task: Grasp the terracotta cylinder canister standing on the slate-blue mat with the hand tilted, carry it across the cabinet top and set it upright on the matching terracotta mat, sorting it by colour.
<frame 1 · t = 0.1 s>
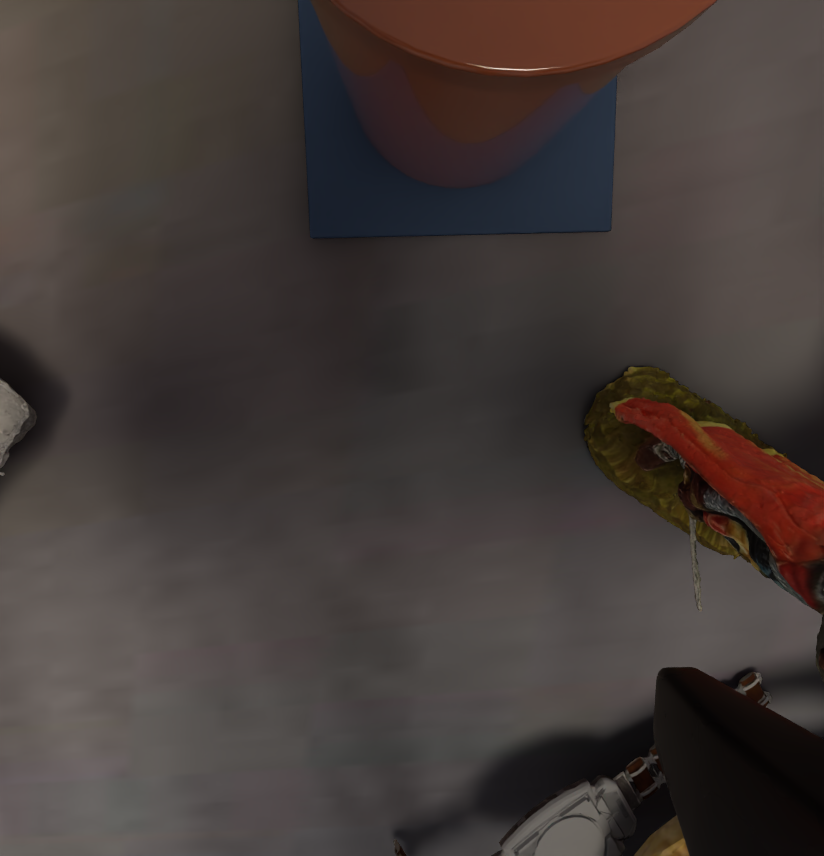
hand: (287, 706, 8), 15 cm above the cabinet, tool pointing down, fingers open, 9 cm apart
blue mat: (458, 74, 20), on the cabinet
figurine: (677, 468, 23), on the cabinet, touching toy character
wristwatch: (577, 768, 25), on the cabinet
terracotta cylinder canister: (459, 70, 20), resting on blue mat
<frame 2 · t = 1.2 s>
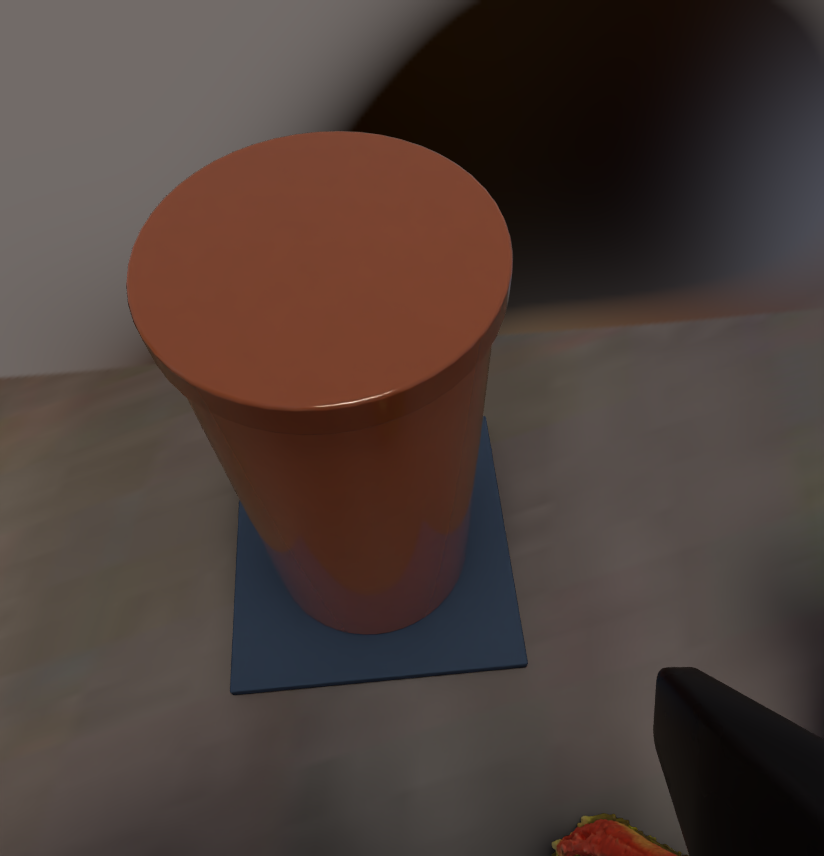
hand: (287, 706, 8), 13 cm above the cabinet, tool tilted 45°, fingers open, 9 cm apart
blue mat: (372, 543, 24), on the cabinet
terracotta cylinder canister: (371, 539, 23), resting on blue mat
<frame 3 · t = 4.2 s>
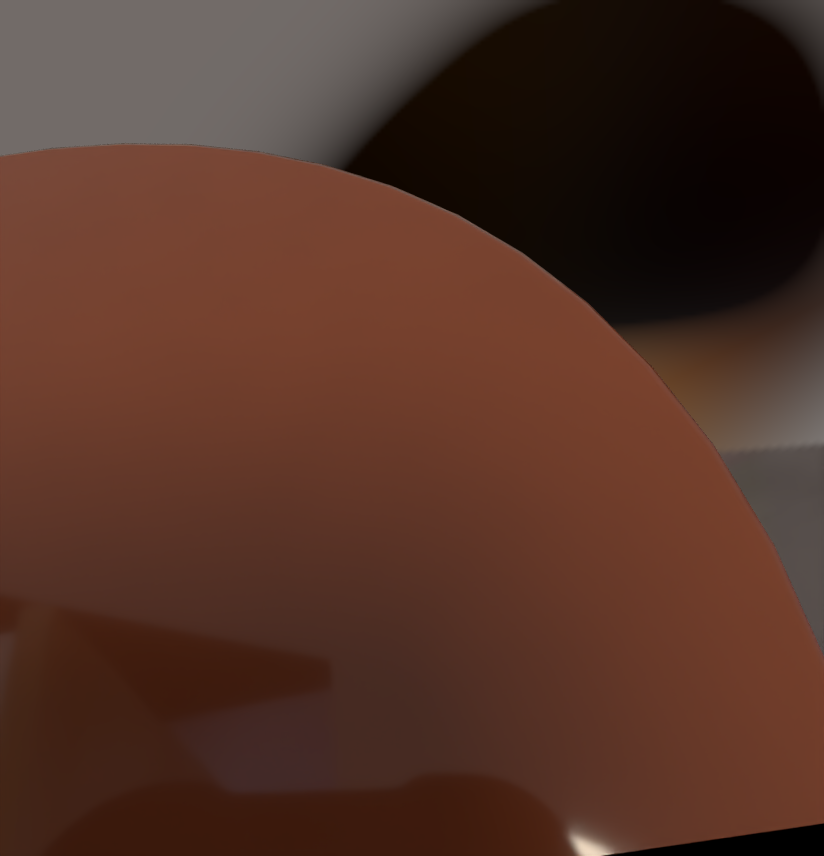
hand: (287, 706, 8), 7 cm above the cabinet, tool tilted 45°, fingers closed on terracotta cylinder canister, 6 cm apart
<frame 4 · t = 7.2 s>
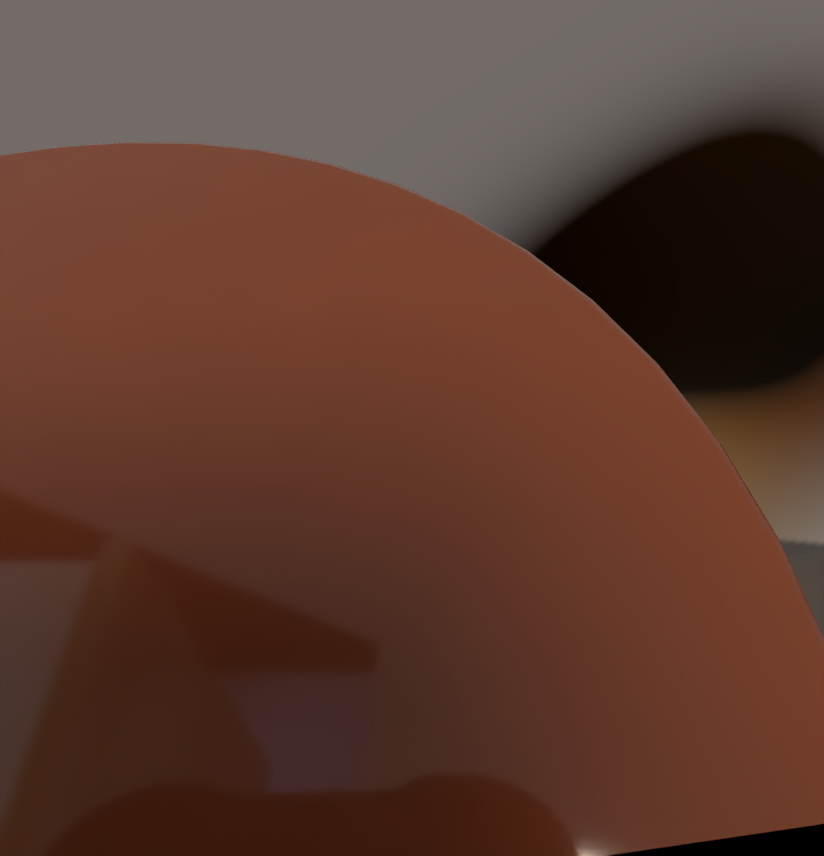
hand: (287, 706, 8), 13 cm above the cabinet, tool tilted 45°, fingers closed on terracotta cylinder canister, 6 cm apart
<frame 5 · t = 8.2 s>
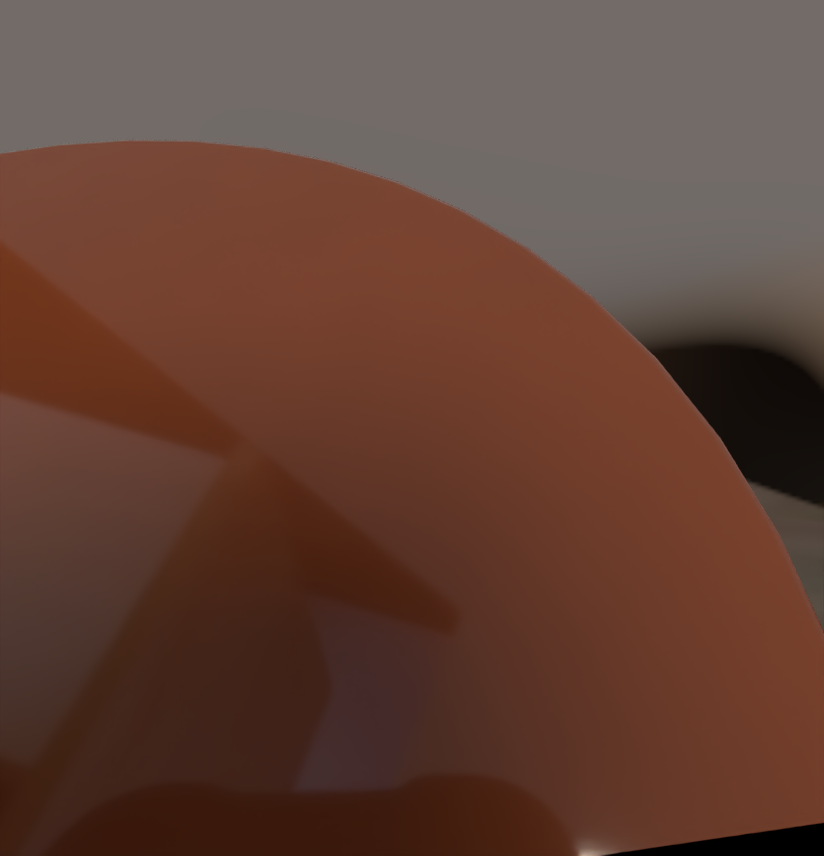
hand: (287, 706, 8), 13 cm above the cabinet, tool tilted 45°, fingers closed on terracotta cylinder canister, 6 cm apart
when the fingers open (7 cm above the cabinet, at t = 12.3 s): terracotta cylinder canister stays where it is, resting on terracotta mat.
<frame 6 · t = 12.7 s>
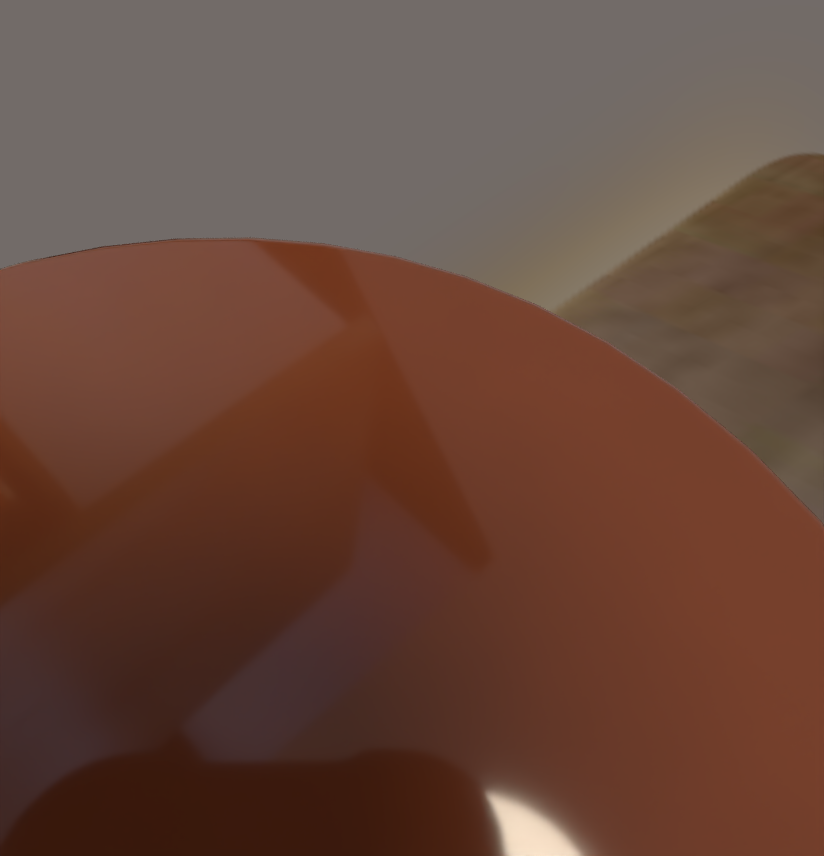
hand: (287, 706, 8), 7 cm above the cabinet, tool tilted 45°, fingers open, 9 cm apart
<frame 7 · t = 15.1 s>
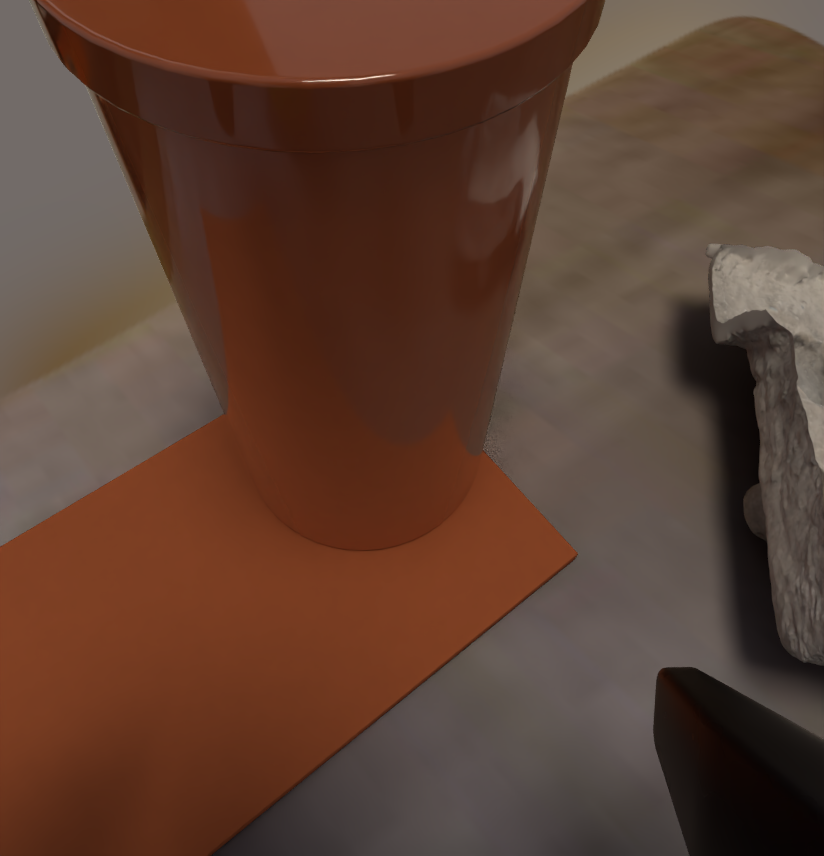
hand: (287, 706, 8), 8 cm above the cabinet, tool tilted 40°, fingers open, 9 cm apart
terracotta mat: (197, 620, 17), on the cabinet
terracotta cylinder canister: (365, 440, 19), resting on terracotta mat
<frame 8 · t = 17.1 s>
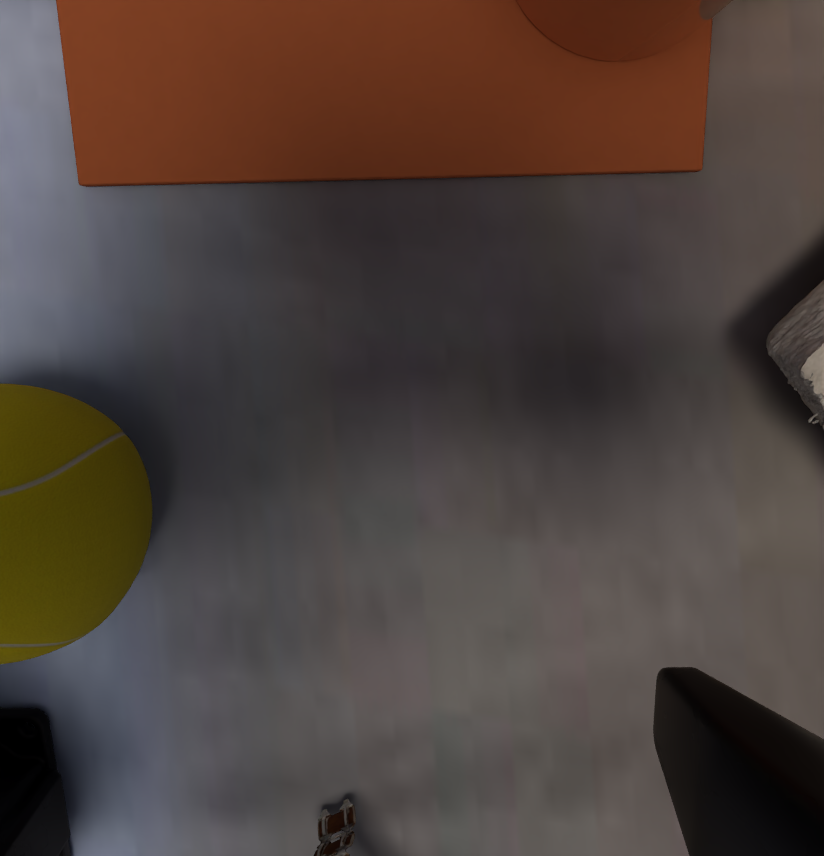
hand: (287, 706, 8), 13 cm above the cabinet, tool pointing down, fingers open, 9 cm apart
tennis ball: (74, 477, 22), on the cabinet
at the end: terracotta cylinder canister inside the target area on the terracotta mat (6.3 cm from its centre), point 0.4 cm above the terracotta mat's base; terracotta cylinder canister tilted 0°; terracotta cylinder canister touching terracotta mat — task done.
